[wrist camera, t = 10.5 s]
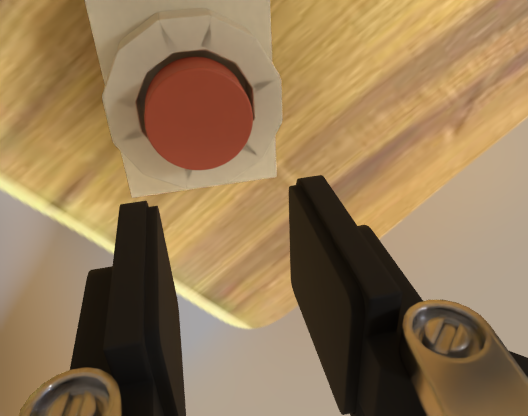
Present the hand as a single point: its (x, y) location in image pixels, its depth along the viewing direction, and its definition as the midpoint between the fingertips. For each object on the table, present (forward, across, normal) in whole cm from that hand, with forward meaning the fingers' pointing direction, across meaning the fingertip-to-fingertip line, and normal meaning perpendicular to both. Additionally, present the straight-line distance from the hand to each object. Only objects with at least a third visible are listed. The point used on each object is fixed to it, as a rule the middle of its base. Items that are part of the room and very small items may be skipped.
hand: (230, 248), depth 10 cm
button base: (+13, 0, 0) cm, 13 cm away
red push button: (+10, 0, 0) cm, 10 cm away
